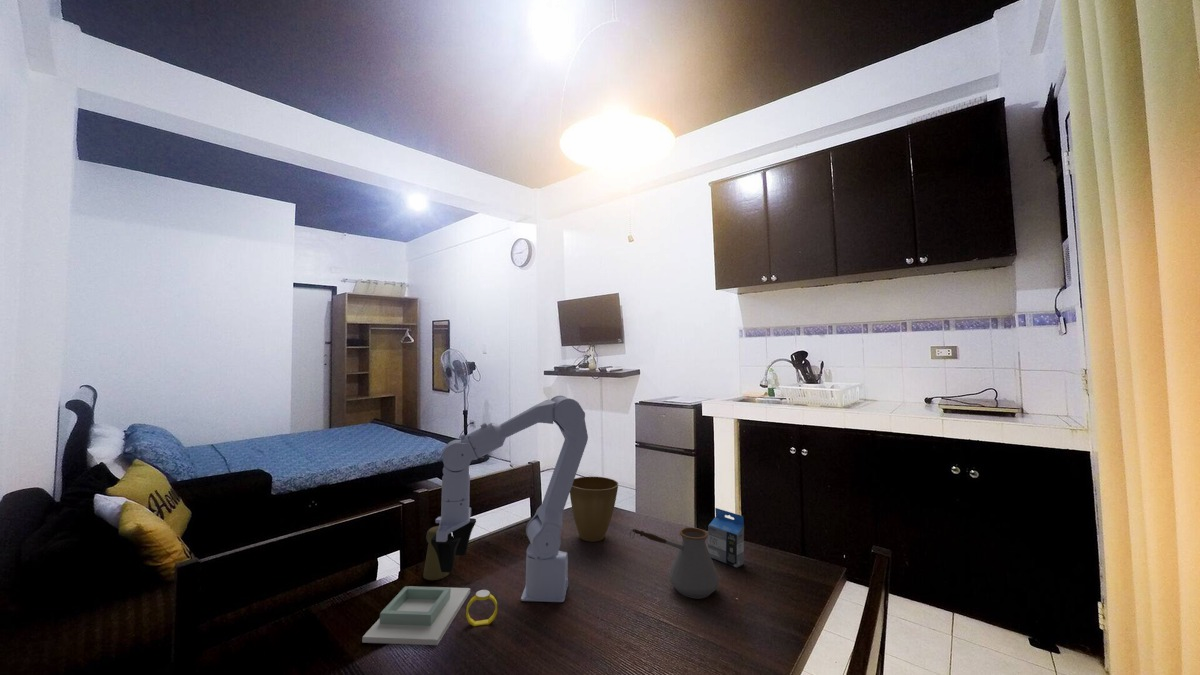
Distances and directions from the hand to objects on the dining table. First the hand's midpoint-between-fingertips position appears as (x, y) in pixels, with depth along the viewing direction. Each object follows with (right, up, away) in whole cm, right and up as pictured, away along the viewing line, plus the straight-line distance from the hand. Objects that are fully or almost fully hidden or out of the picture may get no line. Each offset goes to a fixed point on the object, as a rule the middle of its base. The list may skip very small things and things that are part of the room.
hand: (453, 562), depth 92 cm
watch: (+8, -9, -6) cm, 13 cm away
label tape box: (+65, -12, +23) cm, 69 cm away
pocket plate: (-5, -9, -4) cm, 11 cm away
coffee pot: (+48, -10, +6) cm, 50 cm away
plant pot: (+29, -12, +37) cm, 48 cm away
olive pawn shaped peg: (-9, -10, +13) cm, 19 cm away
